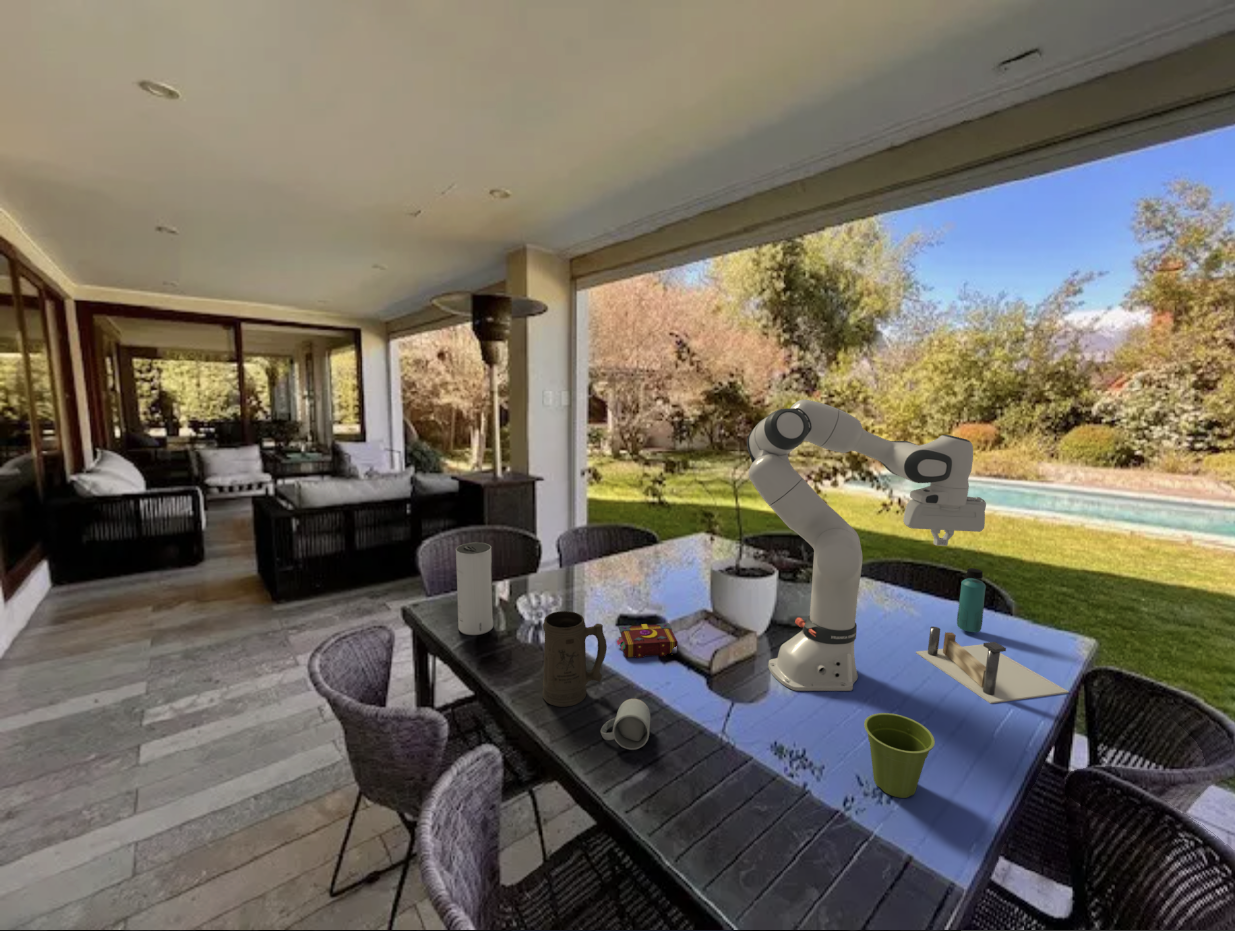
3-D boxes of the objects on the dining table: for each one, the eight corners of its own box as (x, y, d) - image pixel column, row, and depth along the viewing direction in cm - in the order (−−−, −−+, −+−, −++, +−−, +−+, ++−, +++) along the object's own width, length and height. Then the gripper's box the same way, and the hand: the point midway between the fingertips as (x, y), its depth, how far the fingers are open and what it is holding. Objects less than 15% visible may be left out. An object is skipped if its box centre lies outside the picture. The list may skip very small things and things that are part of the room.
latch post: (931, 657, 152) (934, 630, 151) (925, 653, 155) (928, 626, 153) (939, 656, 153) (942, 630, 152) (932, 652, 155) (935, 626, 154)
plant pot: (906, 762, 111) (911, 711, 109) (942, 808, 100) (949, 752, 98) (848, 763, 111) (853, 712, 109) (878, 809, 99) (883, 753, 97)
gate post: (988, 698, 134) (995, 649, 131) (977, 690, 137) (983, 642, 134) (999, 696, 134) (1006, 648, 132) (988, 689, 137) (994, 641, 135)
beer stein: (542, 710, 127) (547, 629, 124) (536, 685, 137) (540, 609, 134) (606, 705, 131) (612, 626, 128) (596, 680, 142) (601, 607, 138)
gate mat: (990, 703, 131) (990, 702, 131) (915, 652, 155) (915, 651, 155) (1068, 692, 136) (1068, 691, 136) (984, 645, 160) (984, 644, 160)
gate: (988, 687, 137) (991, 665, 136) (980, 687, 137) (983, 664, 136) (950, 652, 154) (952, 632, 153) (942, 652, 154) (945, 632, 153)
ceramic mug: (650, 726, 122) (650, 694, 121) (649, 751, 114) (649, 717, 113) (603, 723, 123) (603, 692, 122) (598, 748, 115) (597, 714, 114)
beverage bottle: (984, 638, 164) (992, 574, 161) (960, 635, 165) (967, 572, 162) (975, 628, 170) (983, 566, 167) (951, 626, 172) (958, 565, 168)
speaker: (496, 632, 165) (493, 549, 161) (460, 638, 161) (456, 553, 157) (490, 618, 175) (488, 539, 170) (456, 623, 171) (453, 542, 167)
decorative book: (678, 656, 153) (678, 639, 152) (620, 660, 150) (620, 643, 150) (668, 637, 164) (668, 621, 163) (614, 640, 162) (614, 624, 161)
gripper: (979, 494, 151) (971, 543, 153) (904, 491, 151) (897, 539, 153) (994, 500, 144) (985, 550, 147) (916, 496, 145) (908, 546, 147)
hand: (940, 545), depth 150 cm, fingers closed
